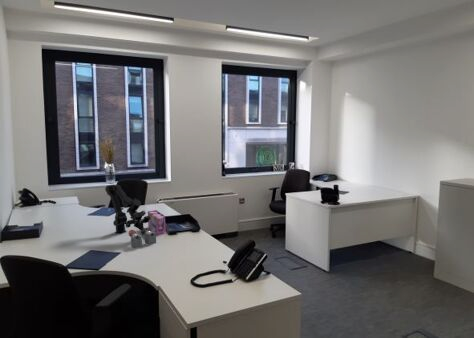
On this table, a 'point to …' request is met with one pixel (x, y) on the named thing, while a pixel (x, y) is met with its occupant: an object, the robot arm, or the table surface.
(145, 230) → the black plunger
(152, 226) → the gum box
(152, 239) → the grey u-shaped block
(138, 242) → the bed
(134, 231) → the copper plunger
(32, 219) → the table surface
